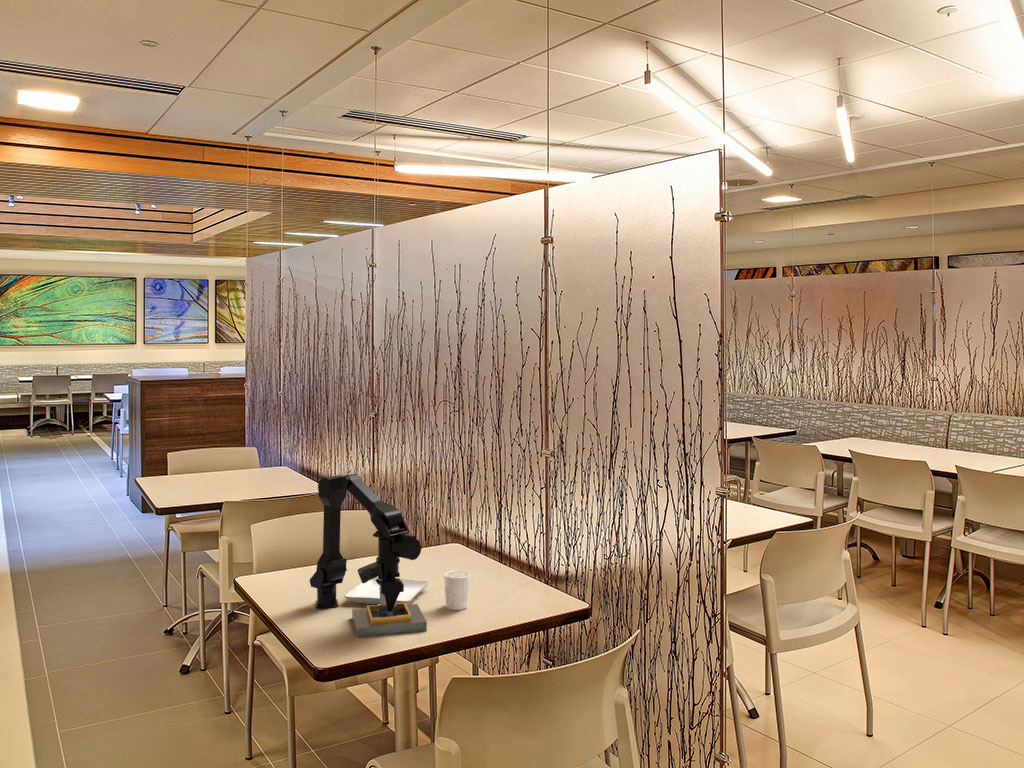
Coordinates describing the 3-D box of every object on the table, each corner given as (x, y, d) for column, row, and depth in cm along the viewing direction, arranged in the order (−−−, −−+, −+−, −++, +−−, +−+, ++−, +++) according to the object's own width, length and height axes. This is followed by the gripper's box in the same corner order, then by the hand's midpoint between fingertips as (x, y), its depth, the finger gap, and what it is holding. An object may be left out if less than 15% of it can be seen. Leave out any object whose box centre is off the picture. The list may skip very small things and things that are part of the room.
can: (378, 613, 221) (378, 585, 221) (395, 612, 222) (395, 584, 222) (380, 619, 216) (380, 590, 216) (397, 617, 218) (398, 589, 217)
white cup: (470, 602, 239) (470, 570, 239) (469, 610, 231) (469, 577, 231) (444, 602, 239) (444, 570, 238) (443, 611, 231) (443, 577, 231)
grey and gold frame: (352, 618, 224) (352, 604, 224) (417, 612, 230) (417, 599, 229) (356, 637, 209) (356, 622, 209) (426, 630, 214) (426, 616, 214)
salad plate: (408, 611, 232) (408, 600, 231) (342, 606, 236) (342, 595, 236) (430, 590, 252) (430, 580, 252) (369, 586, 257) (369, 575, 257)
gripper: (356, 547, 225) (356, 600, 226) (362, 564, 207) (362, 622, 208) (394, 545, 228) (394, 597, 229) (404, 561, 210) (404, 618, 211)
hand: (388, 608), depth 219 cm, fingers closed on can, 5 cm apart
